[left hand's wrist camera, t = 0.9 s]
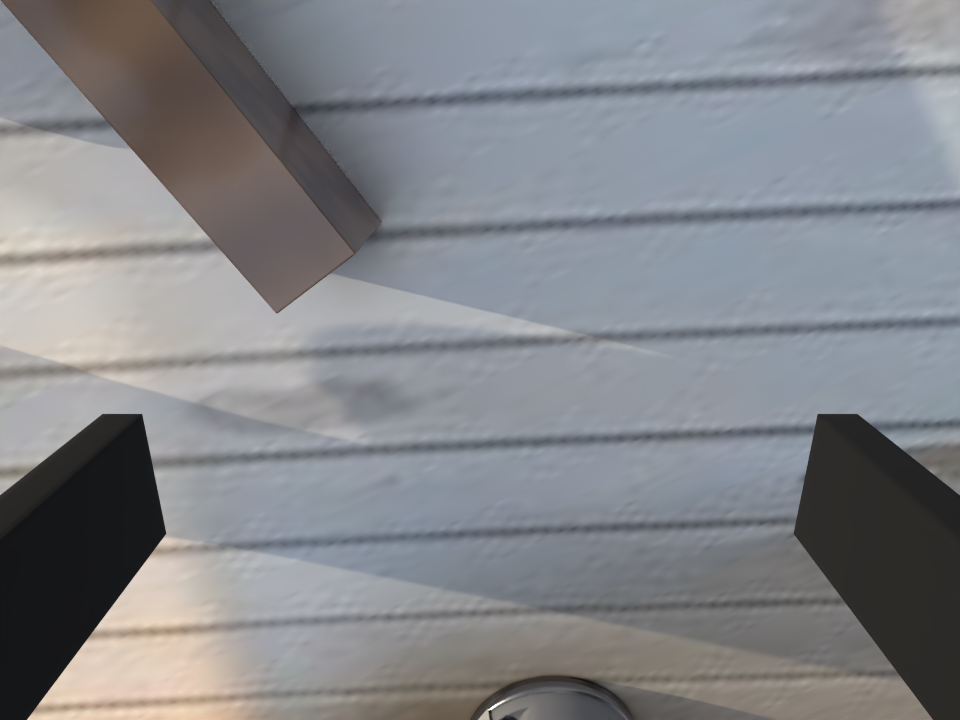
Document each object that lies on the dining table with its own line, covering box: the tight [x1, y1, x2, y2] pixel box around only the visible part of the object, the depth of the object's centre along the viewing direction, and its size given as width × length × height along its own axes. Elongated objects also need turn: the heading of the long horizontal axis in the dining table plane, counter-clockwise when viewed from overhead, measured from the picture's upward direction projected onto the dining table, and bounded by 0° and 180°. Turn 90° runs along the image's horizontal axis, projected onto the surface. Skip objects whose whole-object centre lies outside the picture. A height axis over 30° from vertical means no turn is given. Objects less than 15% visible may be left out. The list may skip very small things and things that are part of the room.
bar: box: [1, 0, 382, 313], centre depth 34 cm, size 32×6×10 cm, turn 36°
